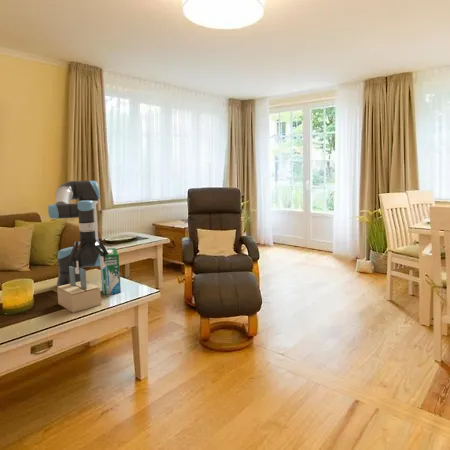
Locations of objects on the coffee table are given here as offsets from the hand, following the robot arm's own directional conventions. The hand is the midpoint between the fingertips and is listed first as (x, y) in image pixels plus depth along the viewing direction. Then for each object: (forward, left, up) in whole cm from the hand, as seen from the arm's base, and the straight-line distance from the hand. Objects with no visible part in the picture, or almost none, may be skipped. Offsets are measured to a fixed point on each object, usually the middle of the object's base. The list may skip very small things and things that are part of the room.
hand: (90, 270), depth 189 cm
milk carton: (-11, +17, -18) cm, 28 cm away
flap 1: (-5, -9, -9) cm, 13 cm away
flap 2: (-4, -1, -9) cm, 10 cm away
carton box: (-4, -5, -18) cm, 19 cm away
